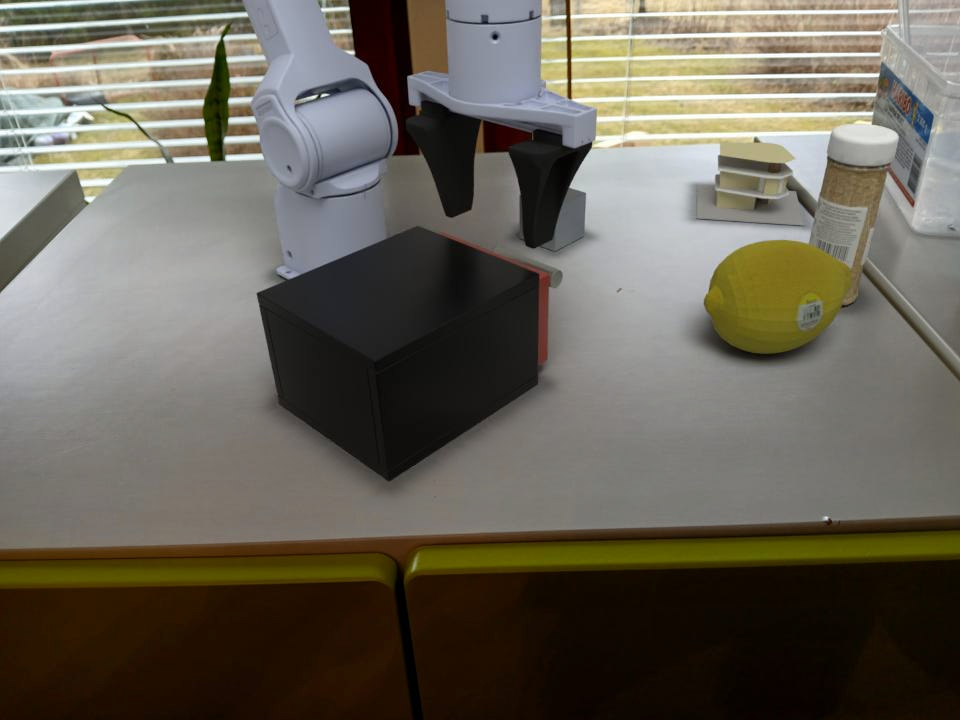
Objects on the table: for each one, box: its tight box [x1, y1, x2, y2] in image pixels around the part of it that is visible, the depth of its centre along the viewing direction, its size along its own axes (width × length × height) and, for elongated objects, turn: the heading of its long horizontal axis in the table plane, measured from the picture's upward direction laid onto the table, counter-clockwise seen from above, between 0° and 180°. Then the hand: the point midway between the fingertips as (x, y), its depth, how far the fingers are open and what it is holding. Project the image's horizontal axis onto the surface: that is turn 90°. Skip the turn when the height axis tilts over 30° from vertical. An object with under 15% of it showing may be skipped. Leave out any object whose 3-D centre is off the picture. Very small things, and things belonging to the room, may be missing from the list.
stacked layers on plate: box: [696, 142, 805, 226], centre depth 79 cm, size 10×9×6 cm
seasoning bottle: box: [808, 123, 900, 306], centre depth 61 cm, size 5×5×13 cm
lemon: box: [703, 239, 852, 355], centre depth 56 cm, size 11×8×8 cm
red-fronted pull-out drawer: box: [437, 231, 564, 366], centre depth 55 cm, size 17×10×7 cm, turn 136°
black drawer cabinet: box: [256, 225, 540, 482], centre depth 52 cm, size 14×12×9 cm
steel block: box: [518, 187, 587, 252], centre depth 74 cm, size 4×4×4 cm
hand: (497, 227), depth 55 cm, fingers open, 7 cm apart
